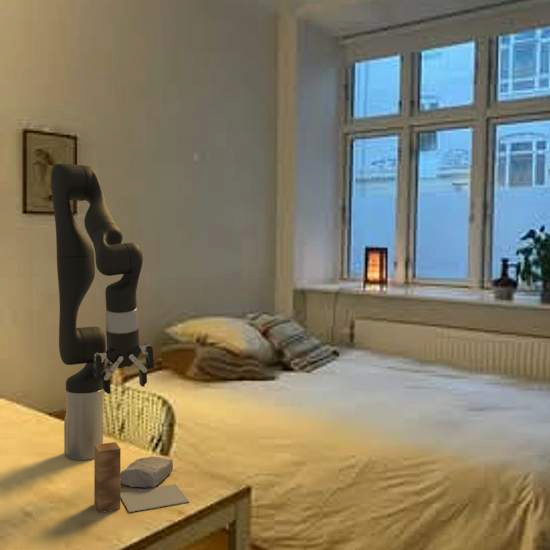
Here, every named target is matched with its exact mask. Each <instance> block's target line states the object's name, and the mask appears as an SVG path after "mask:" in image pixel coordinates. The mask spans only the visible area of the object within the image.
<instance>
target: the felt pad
mask: <svg viewBox="0 0 550 550" xmlns="http://www.w3.org/2000/svg"><path fill="white" fill-rule="evenodd" d="M121 499H122V500H121ZM120 500H121V501H122V503H123V504H124V507H125V506H126V507H125V508H126V510H127V511H129V512H128V513H129V514H131V513H130V512H133V513H136V512H135V511H138V512H142V511H141V510H144V511H148V510H147V509H150V510H154V508H155V509H161V508H165V507H164V506H167V507H171V505H172V506H177V504H178V505H183V503H184V504H188V503H190V500H189V499H188V497H187V496H186V495H185V494H184V493H183V492H182V491H181V489H180V488H179V486H177V484H176V483H174V484H169V485H162V486H156V487H155V488H143V489H138V490H131V491H124V492H120ZM160 507H161V508H160Z"/></svg>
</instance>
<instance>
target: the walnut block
mask: <svg viewBox="0 0 550 550" xmlns="http://www.w3.org/2000/svg"><path fill="white" fill-rule="evenodd" d="M121 453H122V452H121V447H120V446H119V444H118V443H117V442H116V441H114V442H106V443H104V442H103V444H97V445H95V458H93V459H94V466H93V467H94V472H93V473H94V475H93V476H94V485H93V486H94V488H93V489H94V492H93V493H94V495H93V497H94V501H93V502H94V504H93V505H94V507H95V508H96V511H97V513H100V514H101V513H105V512H104V511H106V512H111V511H110V510H112V511H117V510H116V509H118V510H121V498H120V493H121V479H120V473H121Z"/></svg>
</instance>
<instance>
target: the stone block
mask: <svg viewBox="0 0 550 550" xmlns="http://www.w3.org/2000/svg"><path fill="white" fill-rule="evenodd" d="M173 463H174V461H173V458H166V457H161V456H153V455H152V456H148V457H142V458H138V459H135V460H134V461H133V462H131V463H129V465H127V466H126V468H125V469H123V470H122V471H120V483H122V485H125V486H127V487H131V488H144V489H149V488H155V487H158V486H159V484H161V483H162V482H163V480H165V479H166V478H167V477H168V476H169V475H170V474H171V473H172V471H173V469H174V464H173Z"/></svg>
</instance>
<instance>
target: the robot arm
mask: <svg viewBox="0 0 550 550" xmlns="http://www.w3.org/2000/svg"><path fill="white" fill-rule="evenodd" d="M50 172H51V173H50V190H51V191H50V192H51V198H52V205H53V206H52V207H53V212H54V213H53V214H54V223H55V237H56V240H55V241H56V267H57V268H56V270H57V281H58V283H57V285H58V296H59V297H58V298H59V316H58V317H59V323H58V329H59V330H58V350H59V355H60V356H59V357H60V359H61V361H62V363H63V364H64V365H67V366H74V365H75V366H76V365H81V364H82V365H83V364H85V365H84V367H83V368H82V369H80V370H79V371H77V372H76V373H74V374H73V375H71V376H69V377H68V378H66V381H65V417H64V418H63V420H64V421H63V423H64V425H63V427H64V432H63V433H64V436H63V438H64V439H63V442H64V444H63V445H64V447H63V448H64V449H63V450H64V454H65V456H66V458H68V459H70V460H74V461H86V460H92V459H94V458H95V445H97V444H104V393H106V394H107V395H110V394H111V379H110V378H111V376H112V374H114V373H115V372H116V370H117V369H123V368H127V367H128V368H130V367H132V366H133V365H135V366H136V367H137V368H138V369H139V370H138V376H139V377H138V378H139V379H138V380H139V381H138V382H139V386H141V387H142V388H143V387H145V386H146V385H147V383H148V371H149V370H153V369H154V368H155V360H154V359H155V358H154V351H153V346H152V345H150V343H148V342H147V343H145V344H144V345H142V346H141V345H140V333H139V331H140V330H139V324H140V321H139V313H138V305H137V304H138V303H137V289H138V284H139V279H140V275H141V272H142V271H141V270H142V268H143V261H144V258H143V257H144V256H143V252H142V250H141V248H140V246H139V245H138V244H137V243H134V242H126V243H122V242H123V234H122V231H121V229H120V228H119V226H118V225H117V222H116V221H115V219H114V217H113V215H112V213H111V212H110V210H109V207H108V203H107V199H106V196H105V193H104V190H103V188H102V184H101V182H100V179H99V177H98V173H97V172H96V171H95V169H94V168H93V167H92V166H88V165H83V164H74V163H73V164H71V163H56V164H54V165H53V167H52V169H51V171H50ZM71 201H75V202H76V201H79V202H81V201H82V202H84V201H86V202H87V203H88V204H89V206H88V209H87V211H86V213H85V216H84V228H85V230H86V231H85V232H87V235H88V237H89V239H90V240H91V242H92V244H93V246H92V244H91V242H90V241H89V239H88V238H87V237H86V235H85V233H84V232H83V231H82V229H81V228H80V226H79V224H78V223H77V221H76V219H75V218H74V214H73V211H72V207H71ZM95 265H96V267H95ZM96 268H97V270H98V272H100V274H101V275H103V276H107V277H108V276H109V277H110V276H118V275H119V276H120V275H122V276H121V278H120V279H118V280H117V281H114V282H113V283H110V284H108V285H107V286H106V287H105V294H104V295H105V296H104V297H105V312H106V313H105V331H106V332H104V331H103V329H102V328H101V327H99V326H83V327H77V319H78V315H79V313H78V312H79V311H80V307H81V304H82V302H83V300H84V298H85V297H86V294H87V293H88V291H89V290H90V288H91V286H92V284H93V282H94V280H95V275H96ZM105 333H106V334H105ZM105 335H106V336H105ZM141 353H143V355H145V363H142V362H141V361H140V360H139V359H138V358H139V357H140V355H141ZM106 358H107V360H108V361H107V363H106Z"/></svg>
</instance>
